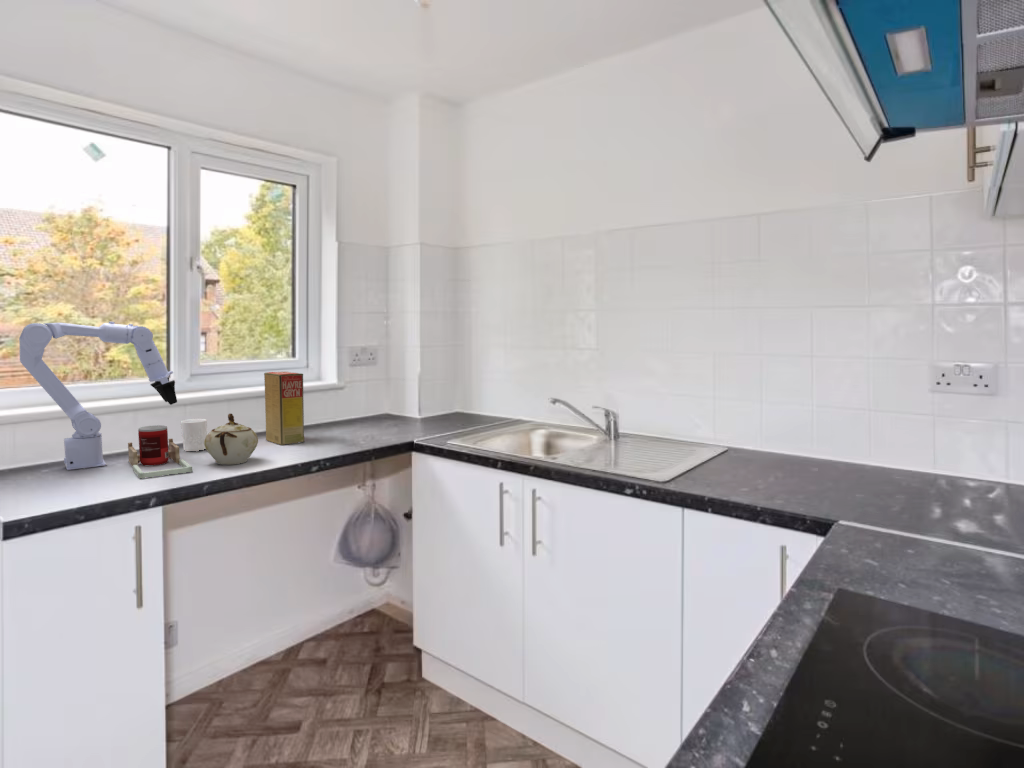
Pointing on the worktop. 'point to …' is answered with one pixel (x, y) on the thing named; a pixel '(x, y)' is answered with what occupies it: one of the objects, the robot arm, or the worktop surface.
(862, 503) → the worktop surface
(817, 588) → the worktop surface
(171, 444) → the holder
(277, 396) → the food packaging
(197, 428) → the white cup
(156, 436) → the canned food
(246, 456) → the sugar bowl
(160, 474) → the bay
